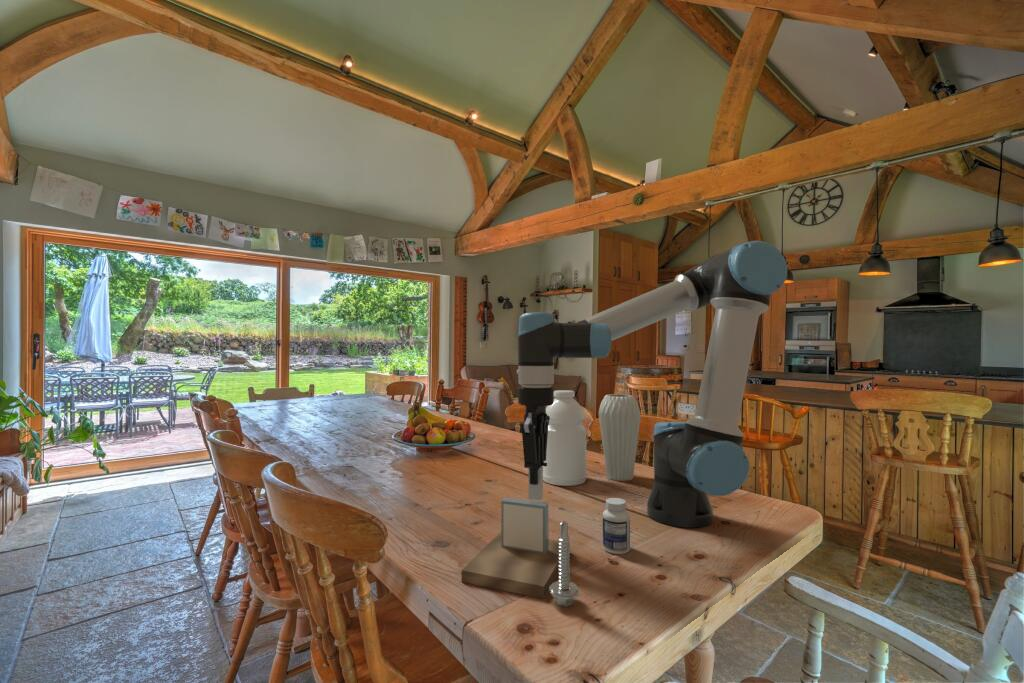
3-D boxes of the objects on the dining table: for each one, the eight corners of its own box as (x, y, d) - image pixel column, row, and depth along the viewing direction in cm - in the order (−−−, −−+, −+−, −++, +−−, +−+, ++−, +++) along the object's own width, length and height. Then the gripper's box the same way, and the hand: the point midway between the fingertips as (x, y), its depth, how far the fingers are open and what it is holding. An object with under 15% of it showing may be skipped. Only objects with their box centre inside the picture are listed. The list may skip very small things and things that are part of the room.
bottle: (532, 479, 140) (532, 390, 141) (560, 471, 150) (560, 388, 150) (568, 489, 130) (567, 393, 130) (595, 480, 140) (595, 391, 140)
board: (569, 552, 89) (569, 542, 89) (543, 598, 72) (543, 586, 72) (500, 541, 94) (500, 531, 94) (461, 581, 78) (461, 570, 78)
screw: (585, 604, 71) (563, 614, 68) (564, 591, 75) (542, 600, 72) (585, 521, 71) (562, 528, 68) (564, 513, 75) (542, 519, 72)
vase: (591, 473, 147) (591, 394, 147) (626, 470, 151) (626, 393, 151) (612, 485, 134) (611, 398, 135) (649, 481, 138) (649, 396, 139)
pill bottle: (610, 541, 95) (610, 494, 95) (634, 548, 91) (634, 500, 91) (598, 549, 90) (597, 501, 91) (622, 557, 87) (622, 507, 87)
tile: (548, 550, 86) (548, 503, 86) (545, 554, 84) (545, 506, 84) (505, 542, 89) (505, 497, 89) (501, 547, 87) (501, 501, 87)
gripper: (529, 383, 101) (528, 487, 101) (508, 387, 89) (507, 506, 89) (561, 384, 99) (561, 491, 98) (543, 388, 86) (543, 511, 86)
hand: (535, 498), depth 93 cm, fingers closed
